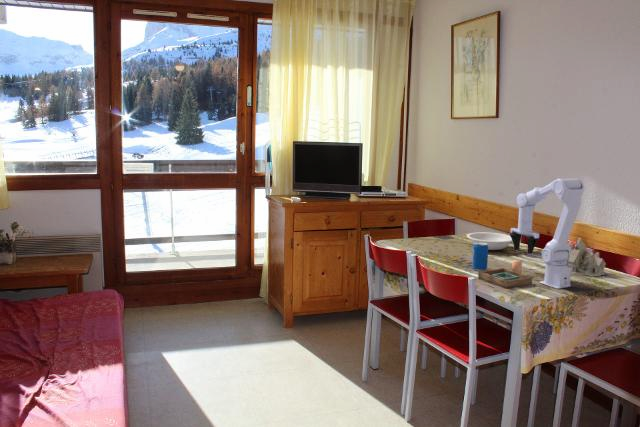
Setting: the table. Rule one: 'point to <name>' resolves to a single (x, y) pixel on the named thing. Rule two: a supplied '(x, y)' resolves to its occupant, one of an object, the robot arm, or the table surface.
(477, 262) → the beverage can
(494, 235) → the soup bowl
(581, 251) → the ceramic cottage
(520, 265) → the terracotta peg
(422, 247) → the table surface
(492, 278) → the walled tray
